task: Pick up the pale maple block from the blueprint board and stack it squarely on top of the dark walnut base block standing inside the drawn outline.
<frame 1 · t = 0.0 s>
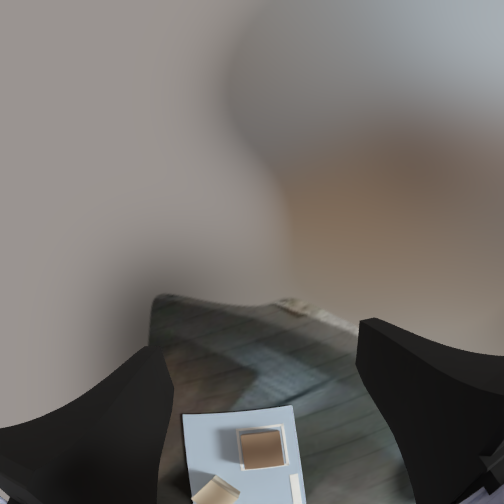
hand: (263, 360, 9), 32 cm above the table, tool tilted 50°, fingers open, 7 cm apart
maple block: (218, 492, 27), point 1 cm above the table, touching blueprint board
walnut base: (262, 447, 31), point 1 cm above the table, touching blueprint board
blueprint board: (244, 473, 29), on the table
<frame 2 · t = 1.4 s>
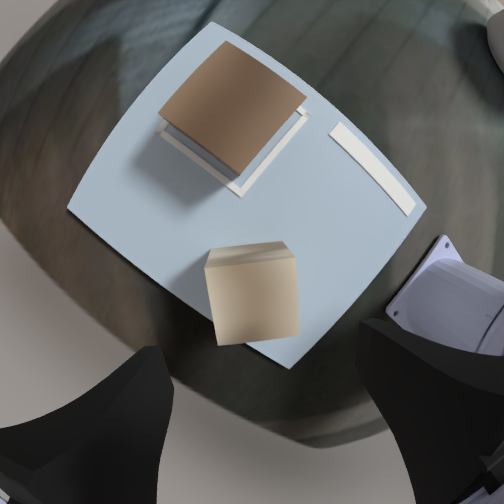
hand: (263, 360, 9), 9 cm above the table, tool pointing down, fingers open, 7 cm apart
maple block: (250, 278, 18), point 1 cm above the table, touching blueprint board
walnut base: (232, 119, 15), point 1 cm above the table, touching blueprint board
blueprint board: (252, 198, 17), on the table
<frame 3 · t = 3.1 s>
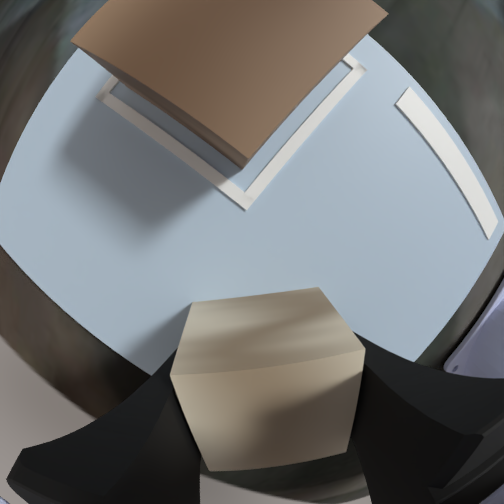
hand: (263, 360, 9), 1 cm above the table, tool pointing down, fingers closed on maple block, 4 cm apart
maple block: (261, 347, 10), point 1 cm above the table, touching blueprint board, gripper
walnut base: (231, 68, 7), point 1 cm above the table, touching blueprint board
blueprint board: (267, 210, 9), on the table
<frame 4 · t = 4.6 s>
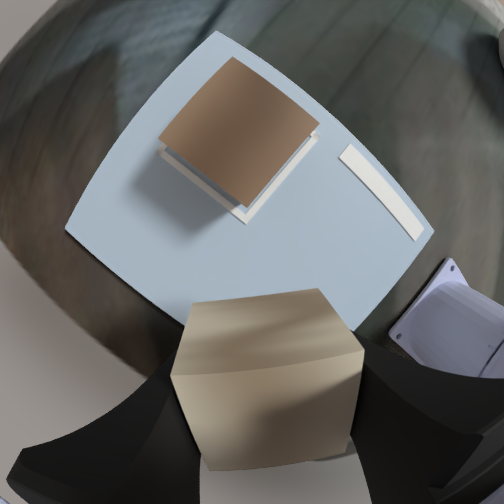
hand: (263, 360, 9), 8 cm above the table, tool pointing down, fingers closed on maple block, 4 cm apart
maple block: (261, 348, 10), point 8 cm above the table, touching gripper
walnut base: (238, 140, 15), point 1 cm above the table, touching blueprint board
blueprint board: (257, 223, 17), on the table
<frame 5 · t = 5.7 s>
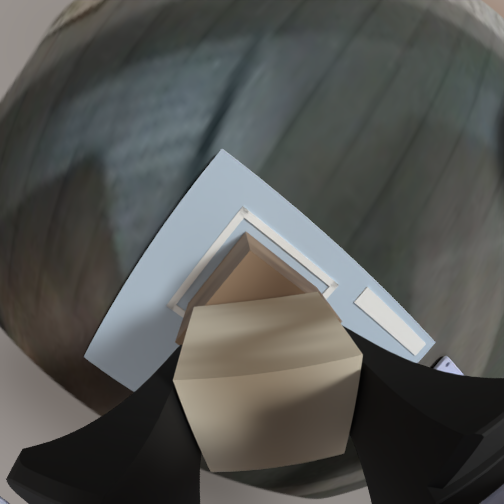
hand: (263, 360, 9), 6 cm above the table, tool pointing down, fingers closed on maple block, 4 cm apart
maple block: (261, 351, 10), point 6 cm above the table, touching gripper
walnut base: (253, 296, 15), point 1 cm above the table, touching blueprint board
blueprint board: (271, 360, 17), on the table
when the fingers open (6 cm above the table, at t = 6.4 s): maple block stays where it is, resting on walnut base.
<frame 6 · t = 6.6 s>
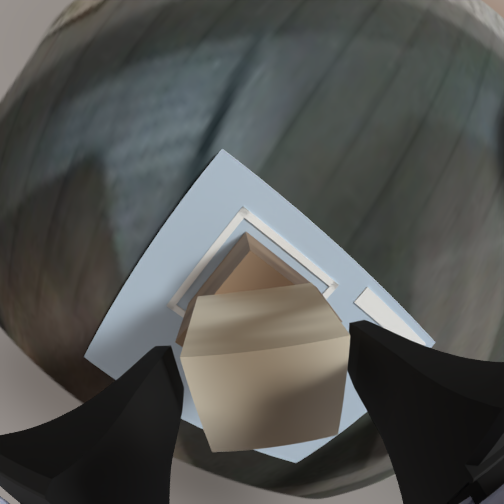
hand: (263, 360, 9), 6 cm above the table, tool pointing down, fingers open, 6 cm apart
maple block: (260, 338, 11), point 5 cm above the table, touching walnut base
walnut base: (253, 296, 15), point 1 cm above the table, touching blueprint board, maple block
blueprint board: (271, 360, 17), on the table
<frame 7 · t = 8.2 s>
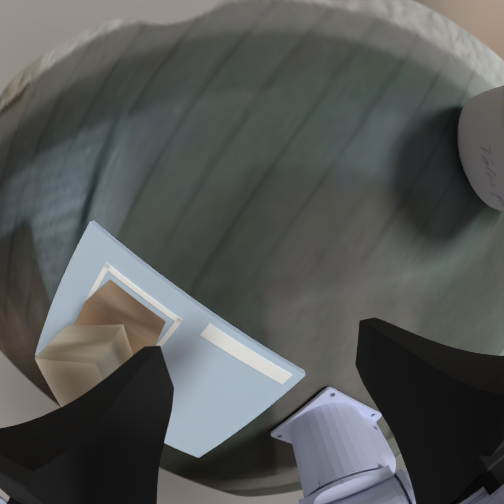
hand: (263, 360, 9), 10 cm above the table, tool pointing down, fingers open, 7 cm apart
maple block: (103, 355, 15), point 5 cm above the table, touching walnut base
teacup: (484, 159, 18), on the table
walnut base: (122, 323, 19), point 1 cm above the table, touching blueprint board, maple block
blueprint board: (150, 370, 20), on the table
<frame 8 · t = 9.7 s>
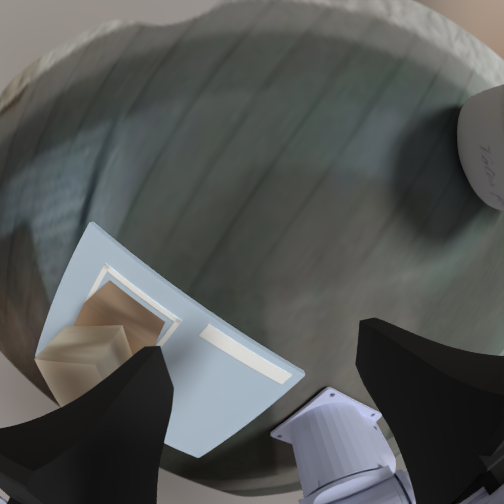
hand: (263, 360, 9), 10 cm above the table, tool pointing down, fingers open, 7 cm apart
maple block: (103, 355, 15), point 5 cm above the table, touching walnut base
teacup: (483, 158, 18), on the table
walnut base: (122, 324, 19), point 1 cm above the table, touching blueprint board, maple block
blueprint board: (149, 371, 20), on the table
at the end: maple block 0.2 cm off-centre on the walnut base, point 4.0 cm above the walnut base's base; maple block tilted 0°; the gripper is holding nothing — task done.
